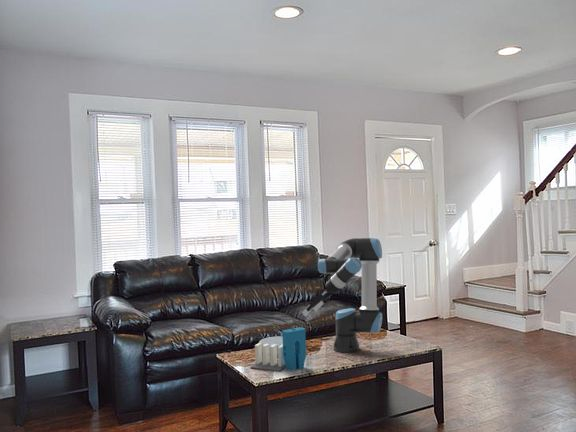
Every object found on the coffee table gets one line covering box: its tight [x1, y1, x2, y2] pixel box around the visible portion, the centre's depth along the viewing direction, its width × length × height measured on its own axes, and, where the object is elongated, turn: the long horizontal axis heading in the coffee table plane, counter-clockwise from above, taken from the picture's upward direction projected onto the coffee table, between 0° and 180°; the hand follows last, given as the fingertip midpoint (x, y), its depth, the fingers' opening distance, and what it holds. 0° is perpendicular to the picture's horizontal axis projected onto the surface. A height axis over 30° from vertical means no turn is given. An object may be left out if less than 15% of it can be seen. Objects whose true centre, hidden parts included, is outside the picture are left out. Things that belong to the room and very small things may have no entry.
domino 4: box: [277, 345, 285, 367], centre depth 270 cm, size 2×5×10 cm, turn 156°
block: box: [281, 327, 307, 372], centre depth 267 cm, size 12×5×20 cm, turn 124°
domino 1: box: [254, 342, 263, 364], centre depth 275 cm, size 2×5×10 cm, turn 157°
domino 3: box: [270, 344, 278, 366], centre depth 271 cm, size 2×5×10 cm, turn 156°
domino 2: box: [262, 344, 270, 365], centre depth 273 cm, size 2×5×10 cm, turn 156°
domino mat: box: [249, 358, 286, 372], centre depth 272 cm, size 17×16×1 cm
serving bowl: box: [258, 335, 283, 356], centre depth 297 cm, size 21×21×7 cm
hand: (309, 311), depth 263 cm, fingers open, 13 cm apart
